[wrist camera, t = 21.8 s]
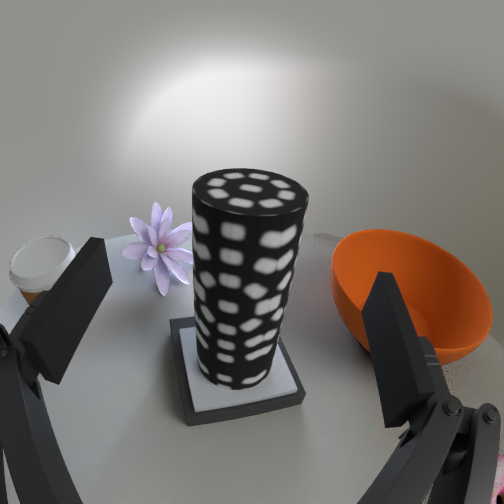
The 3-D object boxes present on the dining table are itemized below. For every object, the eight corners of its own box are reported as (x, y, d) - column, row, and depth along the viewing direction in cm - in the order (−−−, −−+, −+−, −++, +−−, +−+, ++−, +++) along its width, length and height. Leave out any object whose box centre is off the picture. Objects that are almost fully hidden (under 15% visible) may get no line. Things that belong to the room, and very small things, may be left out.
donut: (444, 470, 24) (469, 454, 21) (514, 458, 22) (538, 441, 20) (442, 568, 13) (471, 563, 10) (519, 539, 11) (547, 528, 9)
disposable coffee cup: (36, 308, 39) (11, 242, 32) (91, 294, 43) (73, 227, 36) (37, 355, 32) (1, 287, 25) (100, 340, 37) (76, 269, 30)
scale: (171, 331, 40) (168, 314, 38) (264, 318, 43) (267, 302, 42) (187, 426, 29) (185, 414, 27) (301, 403, 33) (308, 390, 31)
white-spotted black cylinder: (186, 377, 31) (171, 201, 19) (211, 323, 38) (215, 162, 26) (262, 398, 30) (302, 227, 18) (278, 340, 36) (312, 179, 25)
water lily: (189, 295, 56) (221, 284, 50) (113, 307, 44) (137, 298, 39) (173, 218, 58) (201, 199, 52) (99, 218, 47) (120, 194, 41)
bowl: (465, 314, 46) (490, 271, 41) (444, 426, 29) (490, 382, 23) (350, 259, 57) (365, 212, 52) (281, 343, 40) (296, 286, 34)
